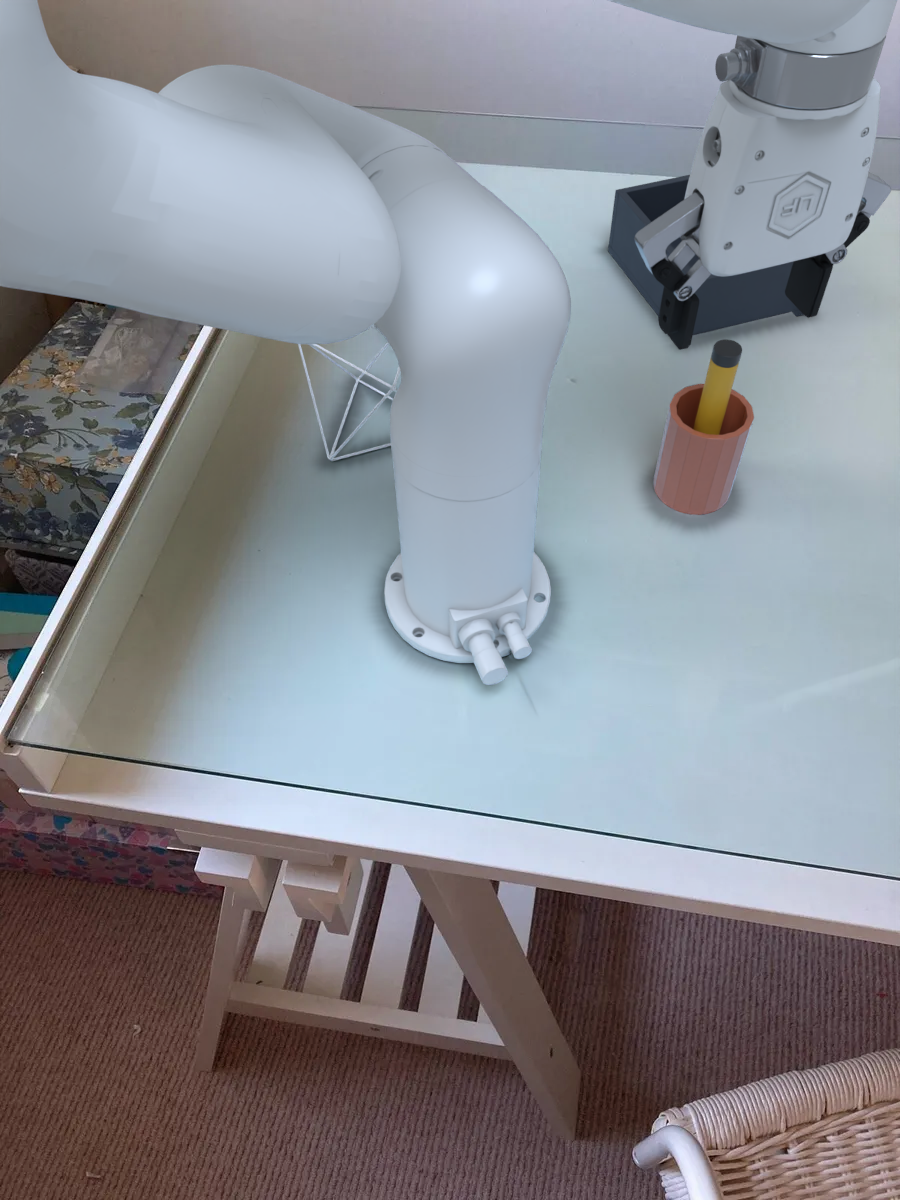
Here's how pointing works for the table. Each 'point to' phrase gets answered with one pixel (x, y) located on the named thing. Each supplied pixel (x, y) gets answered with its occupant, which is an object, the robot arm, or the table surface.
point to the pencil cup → (700, 454)
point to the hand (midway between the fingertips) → (737, 321)
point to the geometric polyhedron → (393, 388)
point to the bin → (717, 295)
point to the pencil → (718, 386)
